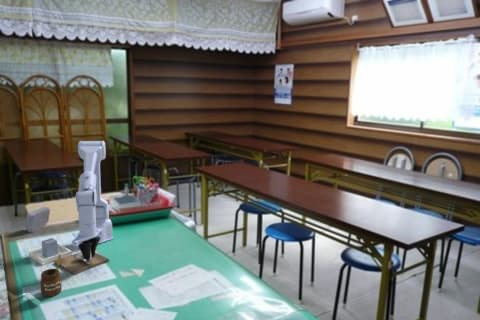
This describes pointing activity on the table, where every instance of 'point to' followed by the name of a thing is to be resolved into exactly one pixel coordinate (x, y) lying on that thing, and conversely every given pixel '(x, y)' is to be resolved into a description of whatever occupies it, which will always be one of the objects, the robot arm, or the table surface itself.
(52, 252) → the block
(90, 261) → the crank
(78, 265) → the crank base
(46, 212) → the stone block
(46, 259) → the tray
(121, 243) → the table surface
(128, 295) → the table surface
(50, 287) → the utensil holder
